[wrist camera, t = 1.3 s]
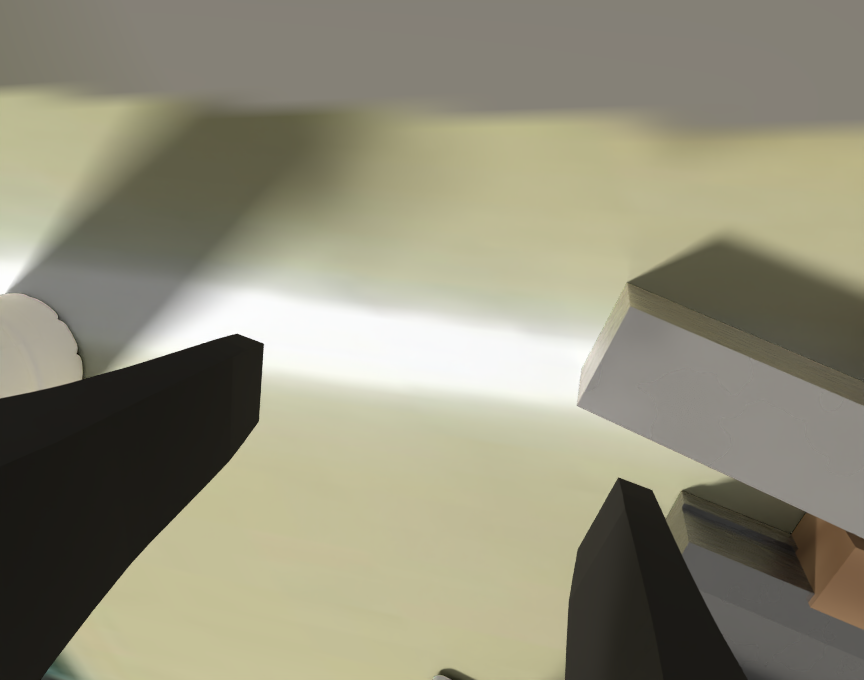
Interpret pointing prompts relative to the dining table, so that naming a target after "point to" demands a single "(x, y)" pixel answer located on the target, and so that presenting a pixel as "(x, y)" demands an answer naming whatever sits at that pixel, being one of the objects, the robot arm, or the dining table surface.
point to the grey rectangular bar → (731, 404)
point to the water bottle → (34, 347)
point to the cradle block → (762, 596)
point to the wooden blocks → (832, 568)
